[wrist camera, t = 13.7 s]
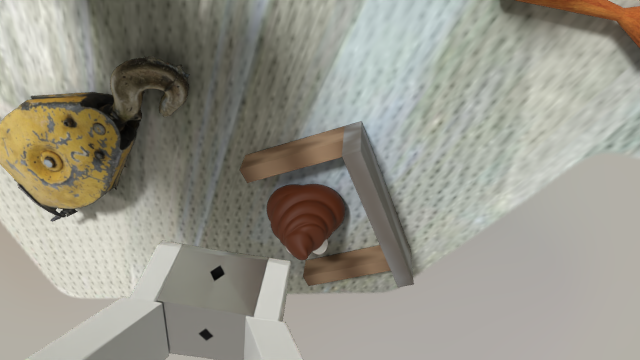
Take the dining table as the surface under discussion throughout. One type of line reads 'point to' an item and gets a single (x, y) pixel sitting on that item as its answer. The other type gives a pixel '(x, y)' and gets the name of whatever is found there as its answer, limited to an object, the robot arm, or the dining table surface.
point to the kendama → (600, 12)
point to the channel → (370, 189)
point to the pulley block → (83, 135)
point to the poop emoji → (305, 217)
